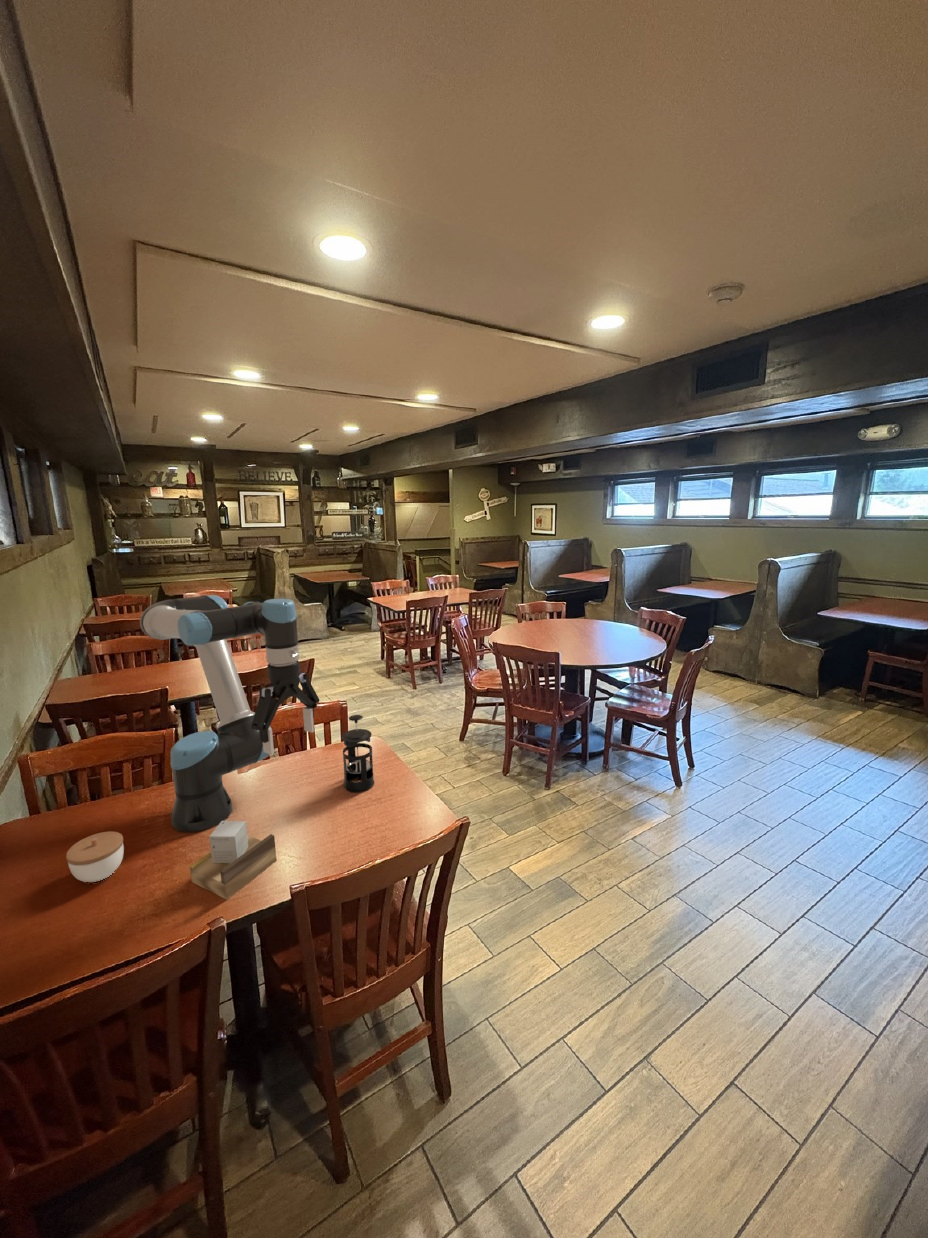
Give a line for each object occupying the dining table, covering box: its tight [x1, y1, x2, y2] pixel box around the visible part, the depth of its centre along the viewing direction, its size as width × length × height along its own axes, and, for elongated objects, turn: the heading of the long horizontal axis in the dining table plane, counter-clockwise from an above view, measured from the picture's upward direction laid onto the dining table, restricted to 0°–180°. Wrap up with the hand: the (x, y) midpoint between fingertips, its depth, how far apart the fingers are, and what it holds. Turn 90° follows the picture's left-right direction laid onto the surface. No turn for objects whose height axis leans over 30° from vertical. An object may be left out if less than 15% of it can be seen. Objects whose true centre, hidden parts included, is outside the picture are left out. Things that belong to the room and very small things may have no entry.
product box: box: [209, 820, 248, 863], centre depth 115 cm, size 6×6×7 cm
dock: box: [189, 833, 277, 901], centre depth 116 cm, size 12×14×7 cm
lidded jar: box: [65, 831, 125, 883], centre depth 115 cm, size 11×11×9 cm
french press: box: [341, 714, 375, 794], centre depth 152 cm, size 12×9×23 cm
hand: (290, 741), depth 124 cm, fingers open, 13 cm apart
